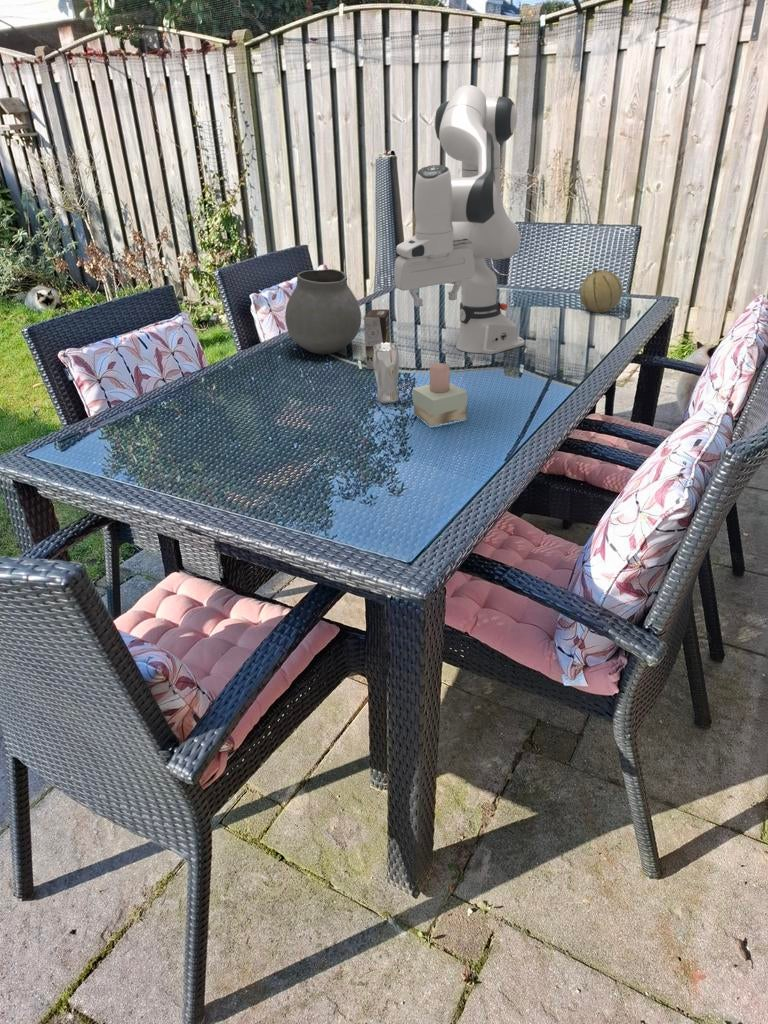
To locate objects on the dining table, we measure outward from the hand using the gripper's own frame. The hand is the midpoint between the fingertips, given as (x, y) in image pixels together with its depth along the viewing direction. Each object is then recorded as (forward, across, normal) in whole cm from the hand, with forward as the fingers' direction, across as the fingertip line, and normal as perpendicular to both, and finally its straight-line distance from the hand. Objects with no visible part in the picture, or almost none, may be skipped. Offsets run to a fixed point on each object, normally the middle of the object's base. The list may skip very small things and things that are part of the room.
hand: (435, 302), depth 171 cm
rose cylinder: (+20, +2, +5) cm, 21 cm away
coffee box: (+29, 0, -40) cm, 49 cm away
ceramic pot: (+29, +9, -62) cm, 69 cm away
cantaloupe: (+31, -94, -52) cm, 111 cm away
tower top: (+24, +2, +6) cm, 25 cm away
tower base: (+28, +2, +6) cm, 29 cm away
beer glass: (+28, +9, -12) cm, 32 cm away
